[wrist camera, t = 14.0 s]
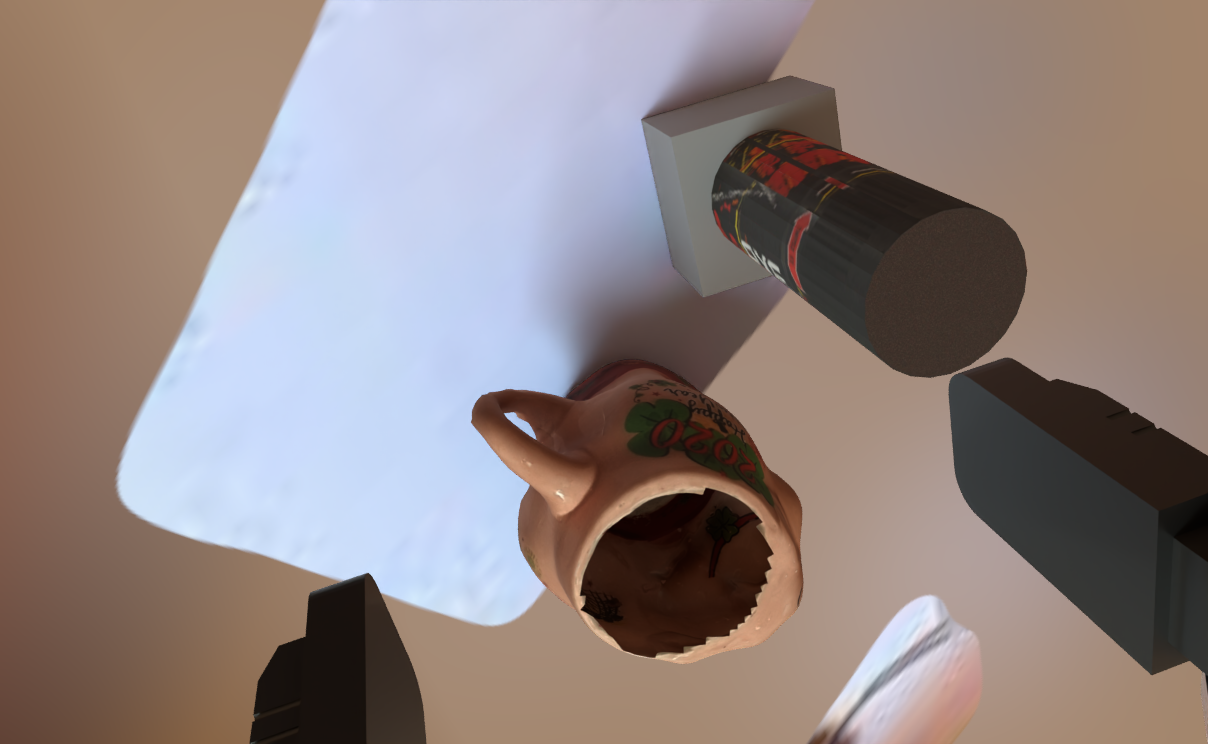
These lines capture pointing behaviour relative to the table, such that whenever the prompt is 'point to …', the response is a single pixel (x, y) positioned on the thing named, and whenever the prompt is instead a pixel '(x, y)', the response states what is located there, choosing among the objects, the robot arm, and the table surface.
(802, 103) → the grey block
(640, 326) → the table surface
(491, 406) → the decorated ceramic mug
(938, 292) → the deodorant
